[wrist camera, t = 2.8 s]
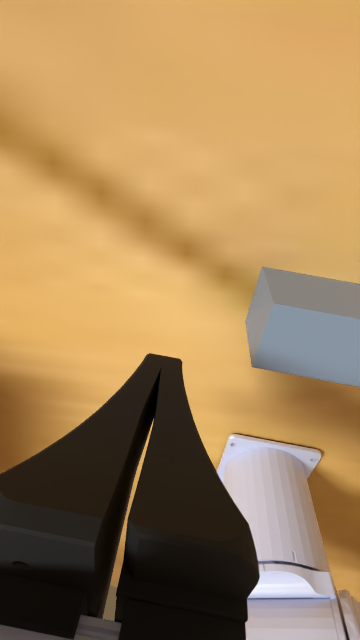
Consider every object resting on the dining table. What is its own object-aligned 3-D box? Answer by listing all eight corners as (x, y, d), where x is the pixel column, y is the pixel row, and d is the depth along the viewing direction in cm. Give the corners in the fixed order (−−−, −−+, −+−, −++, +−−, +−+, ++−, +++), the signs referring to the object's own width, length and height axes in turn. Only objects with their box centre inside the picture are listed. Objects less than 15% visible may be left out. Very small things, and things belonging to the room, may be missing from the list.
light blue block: (376, 344, 21) (416, 397, 17) (245, 320, 21) (251, 366, 17) (407, 291, 19) (462, 337, 14) (261, 265, 19) (273, 303, 15)
